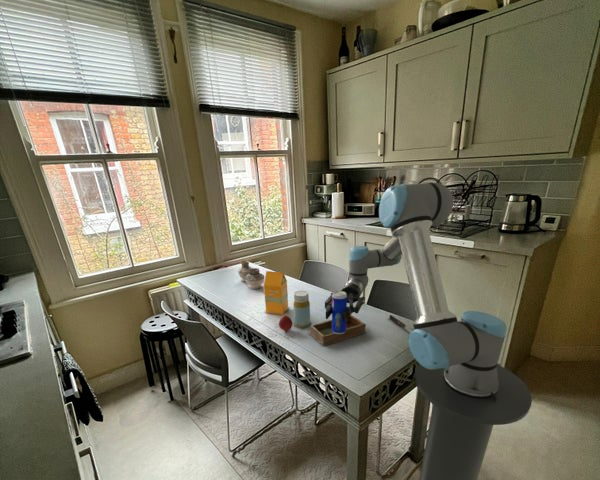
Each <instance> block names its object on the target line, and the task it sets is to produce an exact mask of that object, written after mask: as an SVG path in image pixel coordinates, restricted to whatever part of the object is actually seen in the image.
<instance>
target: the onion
mask: <svg viewBox="0 0 600 480" xmlns="http://www.w3.org/2000/svg"><path fill="white" fill-rule="evenodd" d="M293 324H294V323H293V320H292V319H291V317H290V316H288V315H287V314H286V313H284V314H283V316H282V317H281V318H279V321H278V326H279V328H280V329H281V330H282V331H284V332H288V331H289V330H291V329H292V327H293Z"/></svg>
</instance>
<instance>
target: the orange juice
mask: <svg viewBox="0 0 600 480" xmlns="http://www.w3.org/2000/svg"><path fill="white" fill-rule="evenodd" d="M263 291H264V303H265V313H268V314H274V315H283V316H284V314H286V311H288V309H289V293H288V280H287V278H286V276H285V273H284V272H283V271H282V272H281V271H272V270H266V271H265V275H264V281H263Z"/></svg>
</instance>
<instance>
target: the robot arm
mask: <svg viewBox="0 0 600 480" xmlns="http://www.w3.org/2000/svg"><path fill="white" fill-rule="evenodd" d="M453 208H454V197H453V193H452V192H451V191H450V189H449V188H448V187H447V186H446V185H444V184H443V183H440V182H424V183H423V182H422V183H407V184H405V183H401V184H397V185H392V186H390V187H388V188H387V189H386V190H385V191H384V193H383V194H382V196H381V198H380V201H379V206H378V217H379V221H380V224H381V225H382V226H383V227H385V228H388V229H390V233H391V236H392V237H391V238H390V239H389V240H388V241H387V242H386V244H385V245H384V246H383V247H381V248H376V249H369V247H368V246H365V245H354V246H352V247H351V248H350V250H349V256H348V259H349V262H348V263H349V267H348V268H349V269H348V270H349V271H348V280H347V282H346V283H345V285H344V286H343V287H342V288H341V290H340V291H344V292H346V294H347V304H348V305H347V308H346V309H345V311H344V312H343V314H342V321H343V322H344V321H345V320H346V318H347V316H351V315H353V313H355V314H359V312H360V311H361V308H362V307H363V305H365V303H366V297H365V296H361V295H362V294H363V292H364V290H365V289H366V288H367V286H368V283H369V276H368V271H369V269H375V268H384V267H393V266H396V265H398V264H400V263H401V260H403V264H404V268H405V272H406V273H405V274H406V277H407V281H408V285H409V289H410V294H411V298H412V302H413V306H414V310H415V314H416V318H415V320H414V322H413V323H412V325H413V330H412V332H411V333H410V332H409V336H408V347H409V350H410V353H411V354H412V356H413V358H414V360H415V361H416V362H417V363H418V364H420V365H422V366H423V367H425V368H427V369H431V370H434V369H440V368H443V369H444V368H445V371H444V375H443V378H444V381H445V383H446V384H447V385H448V386H449V387H450V388H451V389H452V390H454V391H456V392H457V393H459V394H462V395H464V396H467V397H471V398H479V399H484V398H490V397H493V398H494V400H495V399H497V397H496V396H495V394H496V393H497V391H498V387H499V381H498V375H497V368H496V367H497V364H498V363H499V360H500V359H499V358H500V357H501V352H502V348H503V346H504V342H505V339H506V337H507V335H506V334H507V324H506V322H505V321H503V319H501V318H499V317H497V316H495V315H492V314H491V313H487V312H483V311H477V310H467V311H464V312H463V313H462V314H461V316H460V320H459V321H458V318H457V315H456V314H454V313H452V312H451V311H450V309H449V307H448V302H447V299H446V298H447V297H446V295H445V291H444V286H443V283H442V279H441V275H440V271H439V267H438V263H437V258H436V255H435V250H434V247H433V246H434V245H433V243H432V238H431V235H430V231H431V230H434V229H437V228H438V227H440V226H441V225H442V224H443V223H445V221H446V220H447V219H448V218H449V217H450V215H451V214H452V211H453ZM333 293H334V292H330V295H329V296H328V298H327V299H326V300H325V301H324V309H325V319H326V320H329V318H330V317H331V316H332V295H333ZM355 303H356V304H355ZM354 304H355V305H354Z"/></svg>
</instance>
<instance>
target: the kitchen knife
mask: <svg viewBox="0 0 600 480" xmlns="http://www.w3.org/2000/svg"><path fill="white" fill-rule="evenodd" d="M389 320H391V321H393V322H394V323H395V324H396V325H397V326H399V327H401V328H403V329H404V330H405V331H407V332H409V334H410V333H411V332H412V331H413V330H412V329H411V328H410V327H408V326H407V325H406V324H405V323H403V321H401V320H400V319H398V318H396V317H395V316H394V315H391V314H389Z"/></svg>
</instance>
